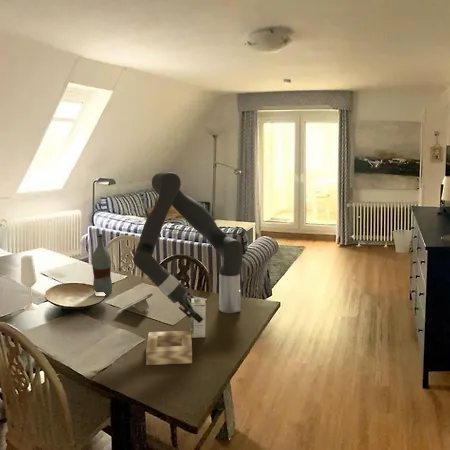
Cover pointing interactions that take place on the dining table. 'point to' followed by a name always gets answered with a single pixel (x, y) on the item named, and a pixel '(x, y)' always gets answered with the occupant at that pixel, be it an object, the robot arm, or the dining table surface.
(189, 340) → the well block
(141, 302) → the grey slanted panel
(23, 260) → the champagne flute
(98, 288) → the bottle
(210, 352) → the dining table surface
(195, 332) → the syrup box
